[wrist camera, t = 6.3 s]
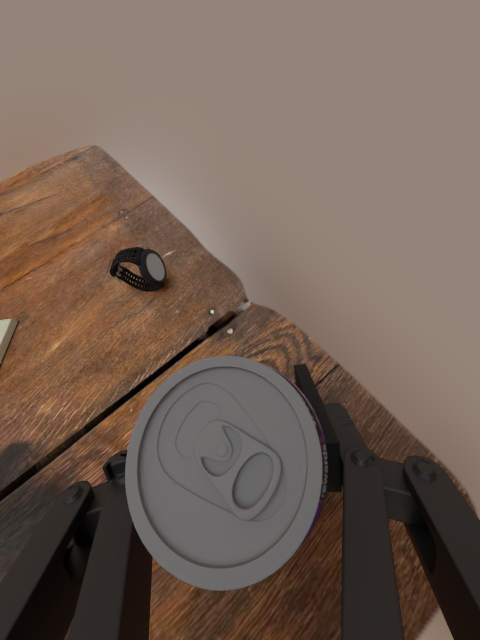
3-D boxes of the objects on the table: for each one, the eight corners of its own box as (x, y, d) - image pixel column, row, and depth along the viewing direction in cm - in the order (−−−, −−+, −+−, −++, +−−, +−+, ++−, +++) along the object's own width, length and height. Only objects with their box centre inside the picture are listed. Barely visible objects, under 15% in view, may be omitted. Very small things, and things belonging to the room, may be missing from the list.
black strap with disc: (162, 303, 25) (137, 274, 21) (124, 292, 27) (94, 262, 22) (180, 273, 27) (160, 240, 22) (144, 264, 28) (118, 232, 24)
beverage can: (321, 433, 18) (384, 423, 7) (268, 530, 15) (242, 722, 5) (245, 379, 20) (206, 312, 10) (191, 455, 18) (67, 475, 8)
